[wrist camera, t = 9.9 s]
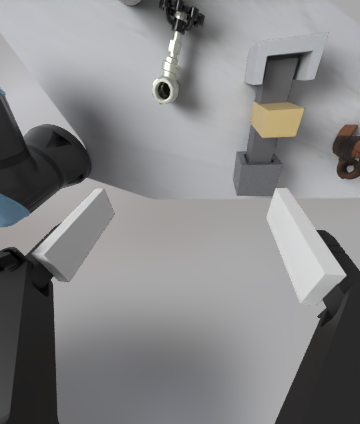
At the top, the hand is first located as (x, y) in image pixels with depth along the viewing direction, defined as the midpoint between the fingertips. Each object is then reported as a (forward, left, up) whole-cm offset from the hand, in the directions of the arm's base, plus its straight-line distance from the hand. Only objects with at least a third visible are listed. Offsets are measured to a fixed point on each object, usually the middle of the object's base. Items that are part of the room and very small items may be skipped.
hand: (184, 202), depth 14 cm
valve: (-4, +10, -29) cm, 31 cm away
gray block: (+12, -10, -29) cm, 33 cm away
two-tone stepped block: (+12, 0, -27) cm, 29 cm away
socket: (+12, +8, -29) cm, 32 cm away
